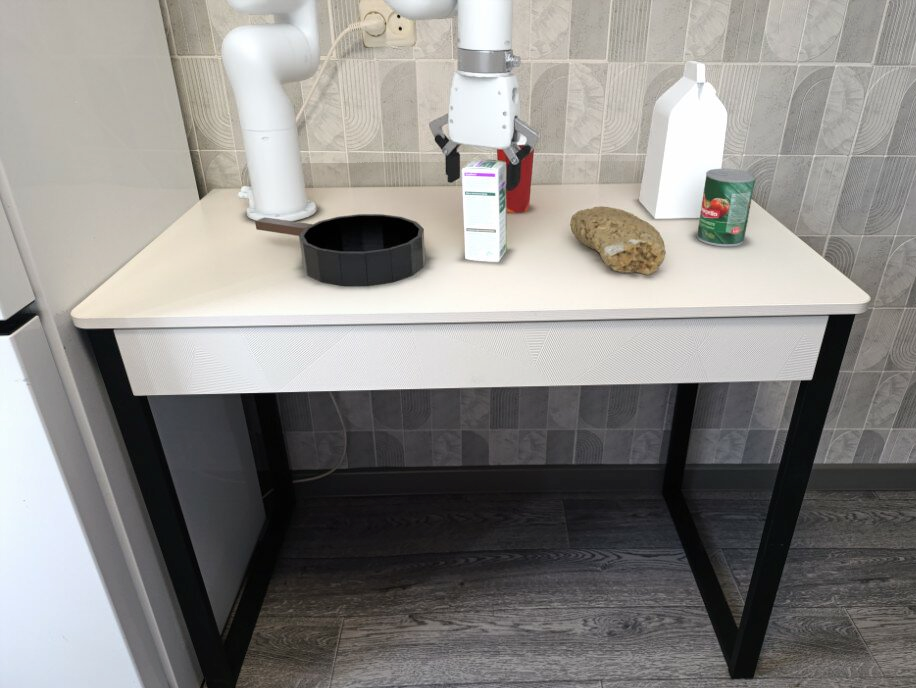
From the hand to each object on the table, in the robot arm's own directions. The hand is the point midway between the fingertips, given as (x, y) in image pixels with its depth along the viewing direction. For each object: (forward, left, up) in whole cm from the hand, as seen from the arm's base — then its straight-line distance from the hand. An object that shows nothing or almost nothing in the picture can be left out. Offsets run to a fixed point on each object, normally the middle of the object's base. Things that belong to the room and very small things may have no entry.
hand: (482, 184), depth 106 cm
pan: (-20, -11, -11) cm, 26 cm away
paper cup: (-4, +26, -12) cm, 29 cm away
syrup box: (0, 0, -12) cm, 11 cm away
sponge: (+20, +8, -12) cm, 24 cm away
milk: (+25, +38, -12) cm, 47 cm away
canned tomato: (+35, +23, -12) cm, 43 cm away
